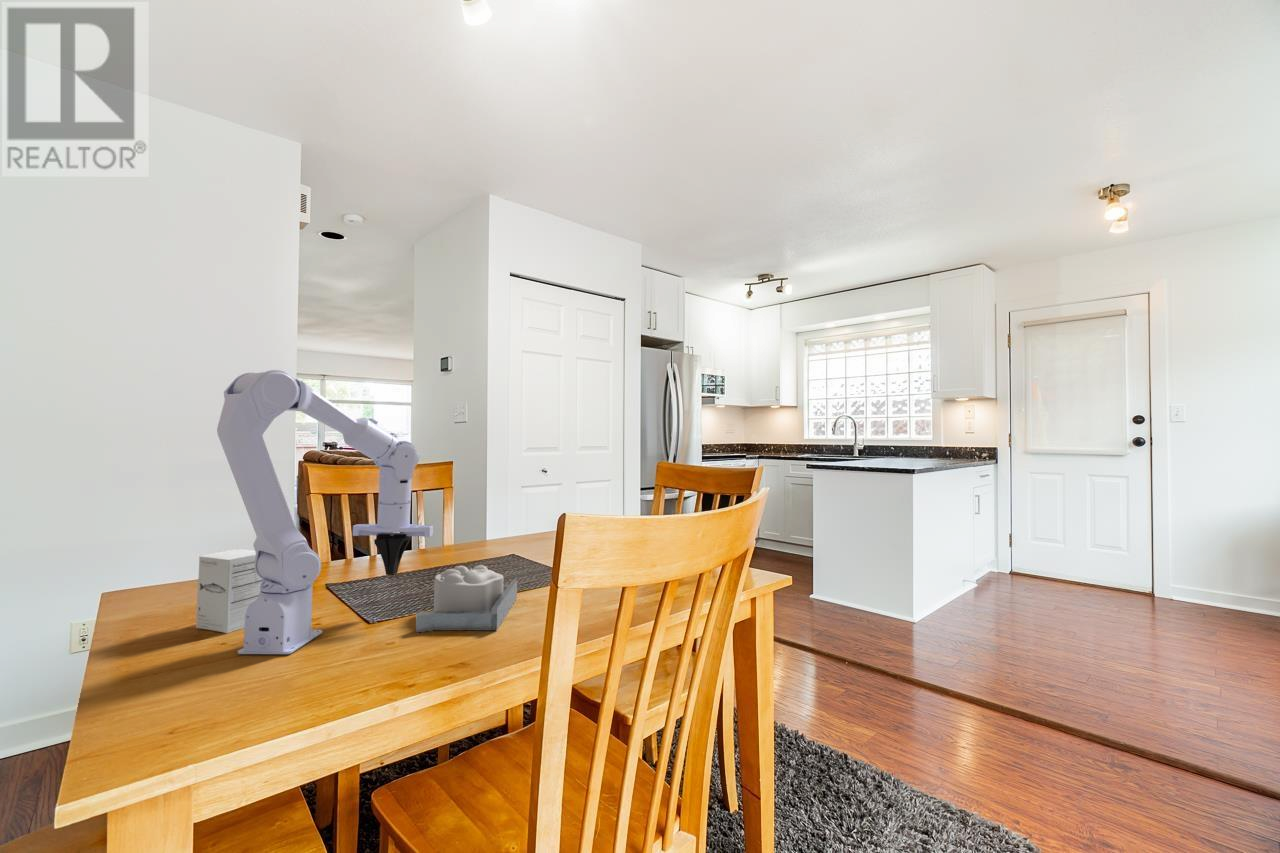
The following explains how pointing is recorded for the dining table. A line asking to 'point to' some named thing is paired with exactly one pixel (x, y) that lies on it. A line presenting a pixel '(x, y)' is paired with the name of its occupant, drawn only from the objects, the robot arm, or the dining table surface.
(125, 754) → the dining table surface
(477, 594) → the lumpy-topped squat cylinder
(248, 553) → the supplement box
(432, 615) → the bracket
